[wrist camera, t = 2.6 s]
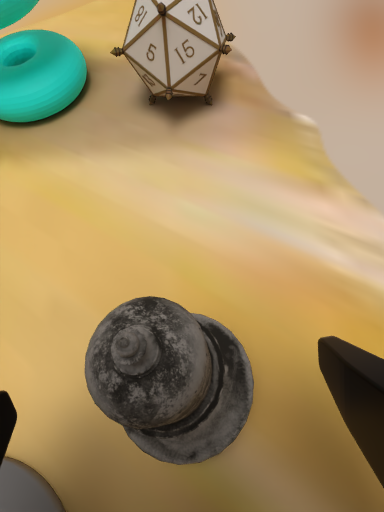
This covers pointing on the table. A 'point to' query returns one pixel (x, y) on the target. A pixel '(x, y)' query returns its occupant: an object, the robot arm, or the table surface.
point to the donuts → (36, 68)
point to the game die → (175, 46)
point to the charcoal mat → (25, 489)
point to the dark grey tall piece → (170, 379)
